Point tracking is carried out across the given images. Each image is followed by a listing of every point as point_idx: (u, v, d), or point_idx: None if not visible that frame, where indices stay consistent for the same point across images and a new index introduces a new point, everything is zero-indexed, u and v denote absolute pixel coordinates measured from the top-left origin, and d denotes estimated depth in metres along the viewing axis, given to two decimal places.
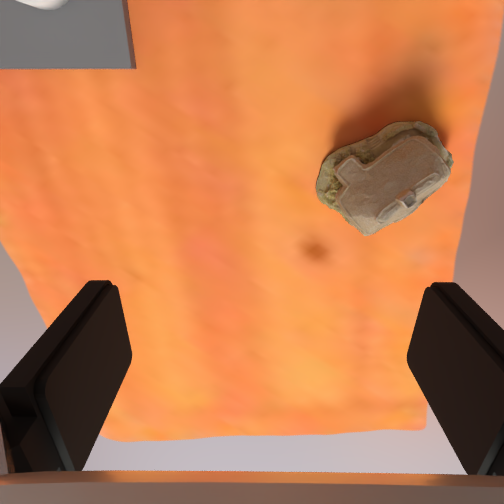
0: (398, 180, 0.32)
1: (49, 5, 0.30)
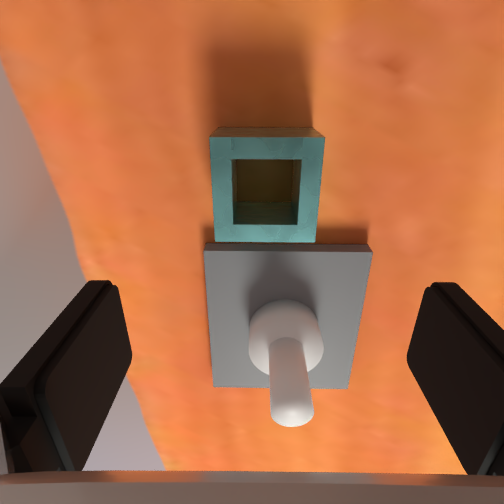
0: None
1: None
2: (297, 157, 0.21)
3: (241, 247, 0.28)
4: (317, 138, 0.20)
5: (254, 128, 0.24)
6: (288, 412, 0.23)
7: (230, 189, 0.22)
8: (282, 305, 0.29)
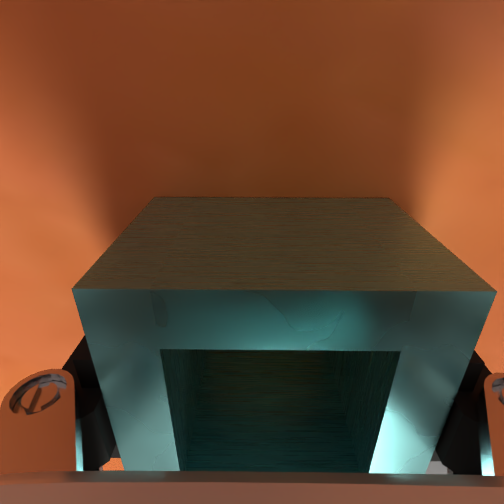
0: None
1: None
2: (386, 345, 0.06)
3: None
4: (468, 294, 0.05)
5: (243, 204, 0.09)
6: None
7: (166, 419, 0.07)
8: None
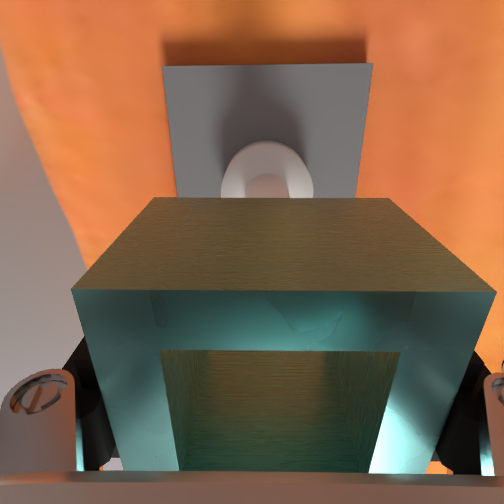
0: None
1: None
2: (385, 346, 0.06)
3: None
4: (467, 294, 0.05)
5: (243, 204, 0.09)
6: None
7: (165, 419, 0.07)
8: (262, 142, 0.24)
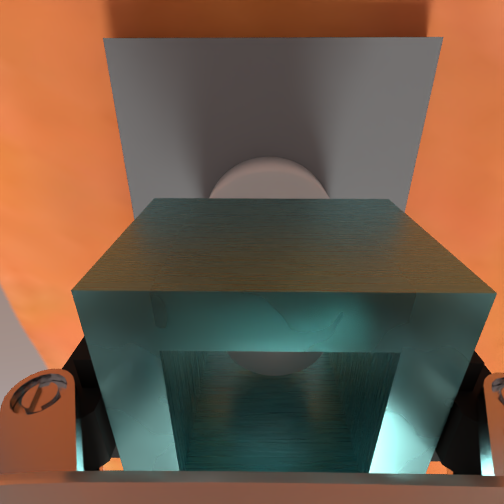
0: None
1: None
2: (386, 347, 0.06)
3: None
4: (468, 295, 0.05)
5: (243, 205, 0.09)
6: None
7: (166, 420, 0.07)
8: (263, 161, 0.15)
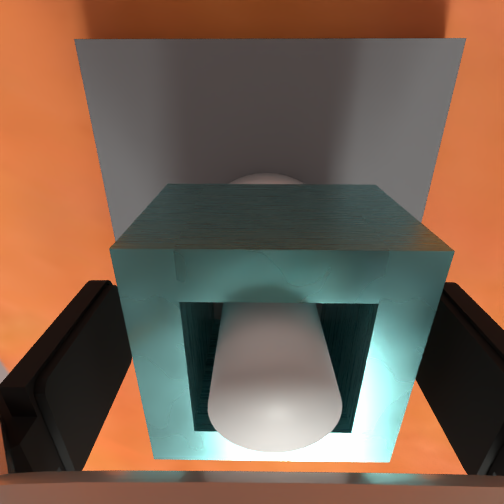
0: None
1: None
2: (366, 299, 0.07)
3: None
4: (431, 253, 0.07)
5: (246, 189, 0.11)
6: (262, 410, 0.07)
7: (182, 366, 0.08)
8: (259, 178, 0.13)
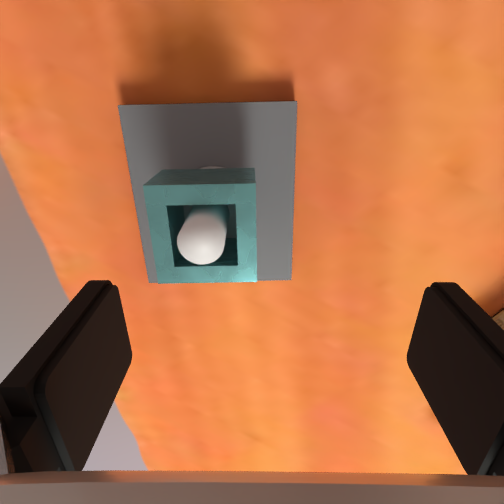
0: None
1: None
2: (231, 202, 0.21)
3: None
4: (248, 184, 0.21)
5: (196, 170, 0.24)
6: (196, 243, 0.21)
7: (168, 233, 0.22)
8: (207, 168, 0.27)
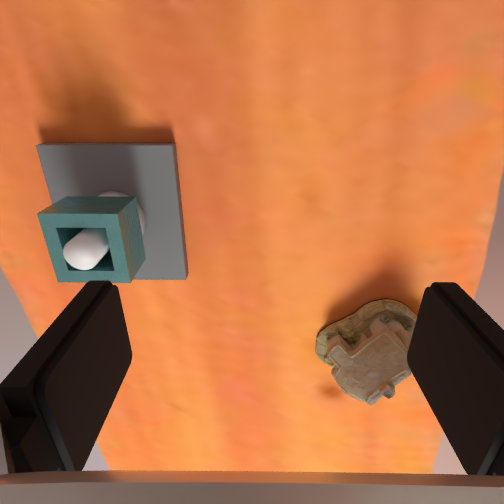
0: (377, 372, 0.39)
1: None
2: (102, 226, 0.29)
3: (69, 144, 0.35)
4: (112, 214, 0.29)
5: (90, 198, 0.33)
6: (77, 255, 0.30)
7: (60, 247, 0.30)
8: (106, 193, 0.35)
